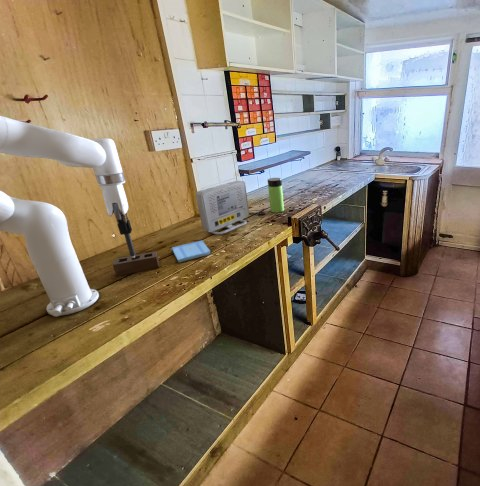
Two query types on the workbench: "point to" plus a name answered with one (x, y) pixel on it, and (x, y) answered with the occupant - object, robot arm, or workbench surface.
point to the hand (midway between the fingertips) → (126, 232)
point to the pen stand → (136, 263)
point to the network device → (223, 206)
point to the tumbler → (275, 195)
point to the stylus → (130, 245)
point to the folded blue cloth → (191, 251)
